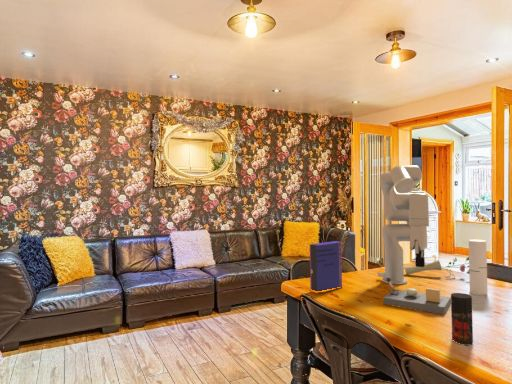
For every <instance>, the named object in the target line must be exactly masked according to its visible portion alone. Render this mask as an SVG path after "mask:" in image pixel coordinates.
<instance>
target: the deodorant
mask: <svg viewBox="0 0 512 384" xmlns="http://www.w3.org/2000/svg"><path fill="white" fill-rule="evenodd" d="M450 297H451V305H450V310H451V312H450V313H451V340H454V341H455V342H457V343H456V344H458V343H460V344H459V345H462V344H471V345H473V344H474V336H473V335H474V334H473V333H474V332H473V298H472V297H473V296H472V295H470V294H467V293H463V292H453V293H451V294H450ZM454 341H453V342H454ZM455 342H454V343H455ZM472 343H473V344H472Z"/></svg>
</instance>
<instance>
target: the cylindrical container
mask: <svg viewBox="0 0 512 384" xmlns="http://www.w3.org/2000/svg"><path fill="white" fill-rule="evenodd" d="M468 257H469V260H468V263H469V264H468V266H469V268H468V271H469V275H468V276H469V293H470V294H474V295H479V296H482V295H483V296H485V295H488V261H487V259H488V258H487V257H488V256H487V240H485V239H484V240H483V239H468Z"/></svg>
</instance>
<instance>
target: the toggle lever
mask: <svg viewBox="0 0 512 384" xmlns="http://www.w3.org/2000/svg"><path fill="white" fill-rule="evenodd" d="M386 281H387V282H389V283H388V284H389V286H390V288H391V291H395V290H394V289H395V288H394V286H393V285H394V284H392V283H391V279H390V278H389V277H387V278H386Z"/></svg>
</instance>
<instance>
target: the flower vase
mask: <svg viewBox="0 0 512 384" xmlns="http://www.w3.org/2000/svg"><path fill="white" fill-rule="evenodd" d="M467 261H469V256H468V257H466V259H465V263H461V264H460V265H459V264H456V265H455V262H457V257H456V256H455V258H454V257H453V262H452V261H449V262H448V265H447V266H446V268H445V270H446V271H447V272H449V276H451V275H452V276H453V277H454V278H455V275H454V274H453V272H452V269H451V267H455V269H456V268H457V269H458V268H459V270H460V272H461V273H465V270H466V269H467V270H468V269H469V262H468V263H467ZM466 265H467V266H466ZM448 268H449V269H448ZM404 270H405V271H404V272H405V275H406V276H409V275H414V274H417V273H420V272H425V271H442V264H441V263H440V259H437V260H434V261H432V262H430V263H426V264H425V266H424V267H416V265H410V266H404ZM455 279H456V278H455Z"/></svg>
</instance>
